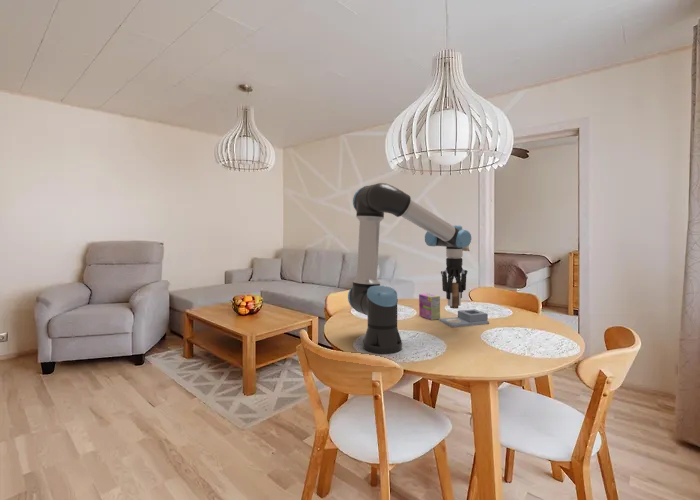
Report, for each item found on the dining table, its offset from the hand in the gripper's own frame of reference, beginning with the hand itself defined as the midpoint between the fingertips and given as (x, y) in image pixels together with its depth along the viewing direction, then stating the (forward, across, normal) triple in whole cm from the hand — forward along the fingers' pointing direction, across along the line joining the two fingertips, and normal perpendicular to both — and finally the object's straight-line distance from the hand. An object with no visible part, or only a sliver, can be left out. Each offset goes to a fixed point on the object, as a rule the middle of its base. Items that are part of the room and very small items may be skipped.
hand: (454, 305), depth 169 cm
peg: (+1, 0, 0) cm, 1 cm away
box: (+9, +6, -14) cm, 18 cm away
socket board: (+9, -5, 0) cm, 10 cm away
